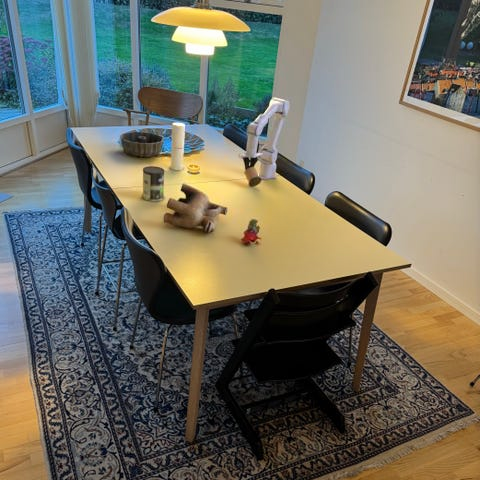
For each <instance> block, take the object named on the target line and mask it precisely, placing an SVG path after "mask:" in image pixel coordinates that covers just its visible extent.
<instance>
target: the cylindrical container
mask: <svg viewBox="0 0 480 480" xmlns="http://www.w3.org/2000/svg"><path fill="white" fill-rule="evenodd" d="M185 135H186V124H185V123H182V122H172V124H171V147H170V152H171V153H170V166H169V167H170V169H171V170H174V171H183V169H184V153H185V152H184V151H185Z"/></svg>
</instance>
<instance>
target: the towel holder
mask: <svg viewBox="0 0 480 480" xmlns="http://www.w3.org/2000/svg"><path fill="white" fill-rule="evenodd" d="M257 171H258V170H256V168H255V166H254V167H250V165H249V168H248V169H246V170H245V169H244V172H243V174H244V175H245V178H246V180H247V182H248V186H249V187H250V188H253V187H257V186H258V185H260V184H261V182H262V178H260V177H259V176H258V174H259V173H258V172H257Z"/></svg>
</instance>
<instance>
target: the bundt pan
mask: <svg viewBox="0 0 480 480" xmlns="http://www.w3.org/2000/svg"><path fill="white" fill-rule="evenodd" d="M119 138H120V141H121V142H120V143H121V147H122V149H123V151H124V152H125V153H126V154H128V155H129V156H134V157H140V158H142V157H145V158H150V157H151V158H153V157H155V156H157V155H159V154H160V153H161V152H162V150H163V146H164V141H165V138H164V137H163V136H162V135H160V134H158V133H153V132H148V131H127V132H123V133H121V134H119Z"/></svg>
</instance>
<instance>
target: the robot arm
mask: <svg viewBox="0 0 480 480" xmlns="http://www.w3.org/2000/svg"><path fill="white" fill-rule="evenodd" d="M290 107H291V106H290V101H289V100H286V99H281V98H278V97H272V98H271V99H270V101H269V105H268V107H267V109H266V110H265V112H264V113H260V114H259V115H258V117H257V118H255V120H254V121H253V122H250V123H248V125H247V127H246V133H247V134H246V137H247V142H246V148H245V149H246V150H245V152H243V153H238V156H237V157H238V159H242V160H243V164H244V171H245V170H246V169H248V168H249V166H250V167H254V168H255V165H256V164H257V163H258V161H259V162H260V164H259V171H258V173H257V174H258V176H259V177H260V178H261V180H267V179H268V180H269V179H276V173H277V163H276V162H277V159H278V154H279V152H278V149H277V148H276V145H277V142H278V138H279V136H280V133H281V130H282V128H283V127H282V126H283V124H284V120H285V119H286V118H287V116H288V113H289V111H290ZM272 116H274V120H273V123H272V126H271V129H270V132H269V135H268V139H267V142H266V144H264V145H262V146H261V149H260V150H259V152H257V150H258V145H259V137H260V136H261V134H262V132H263V130H264V127H265V126H266V125H267V124H268V123H269V119H270V118H271V117H272Z"/></svg>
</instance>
